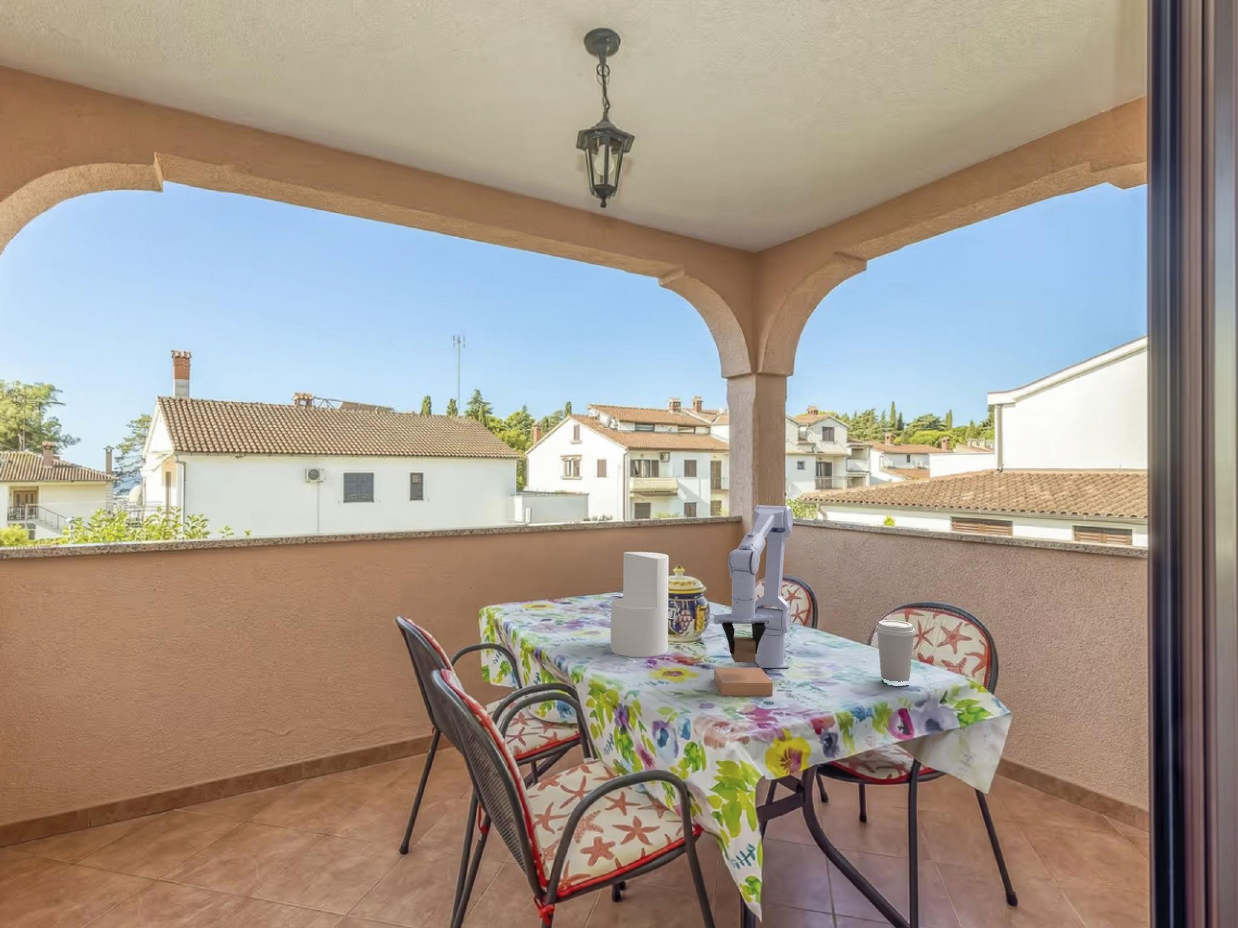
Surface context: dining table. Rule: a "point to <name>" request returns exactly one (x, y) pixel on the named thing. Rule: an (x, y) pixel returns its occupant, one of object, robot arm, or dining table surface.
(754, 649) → the walnut block
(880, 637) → the coffee cup
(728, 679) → the terracotta plinth
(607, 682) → the dining table surface
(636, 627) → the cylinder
